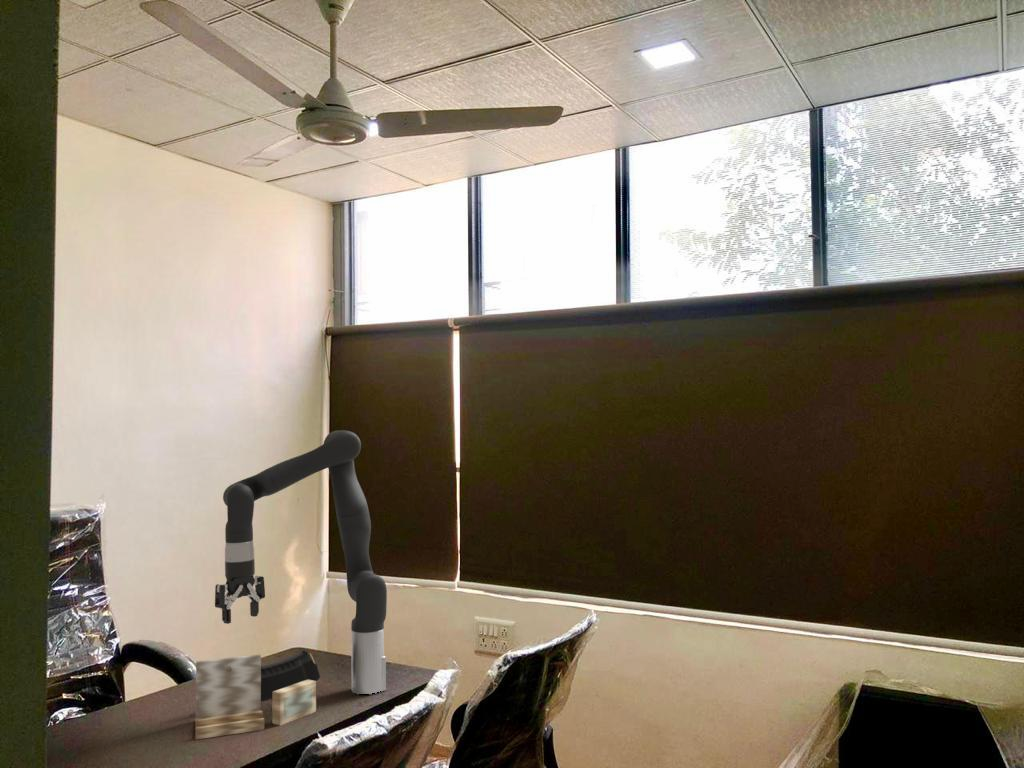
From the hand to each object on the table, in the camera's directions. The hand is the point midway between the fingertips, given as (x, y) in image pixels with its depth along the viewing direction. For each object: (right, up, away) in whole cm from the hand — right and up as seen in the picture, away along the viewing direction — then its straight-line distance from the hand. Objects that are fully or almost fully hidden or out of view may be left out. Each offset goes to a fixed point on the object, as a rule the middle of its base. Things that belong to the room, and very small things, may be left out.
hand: (241, 619), depth 212 cm
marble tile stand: (+1, -24, -10) cm, 26 cm away
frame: (+16, -24, -5) cm, 29 cm away
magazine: (+4, -25, +10) cm, 28 cm away
